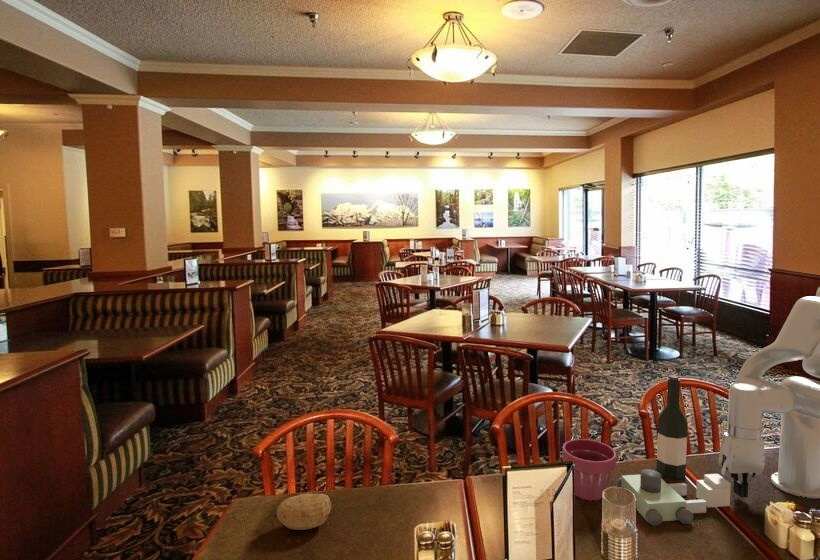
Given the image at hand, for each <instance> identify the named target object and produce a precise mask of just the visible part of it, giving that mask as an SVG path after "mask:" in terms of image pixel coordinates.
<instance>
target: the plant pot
mask: <svg viewBox="0 0 820 560" xmlns="http://www.w3.org/2000/svg"><path fill="white" fill-rule="evenodd" d="M561 452H562V455H561V458H562V461H563V463H564V462H565V461H572V462H573V463H574V464H575V494H574V495H575V496H576V497H577V498H580V499H582V500H587V501H592V500H594V501H600V500H601V495H602V491H603V490H604V489H606V488H607V489H608V487H609V482H610V479H611V475H612V472H613V471H614V470H615V469H616V466H617V452H616V451H615V449H614V448H612V447H611V446H609V445H608V444H606V443H603V442H601V441H598V440H595V439H587V438H578V439H577V438H576V439H575V438H574V439H569V440H568V441H565V442H564V443H563V444H562V451H561Z"/></svg>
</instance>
